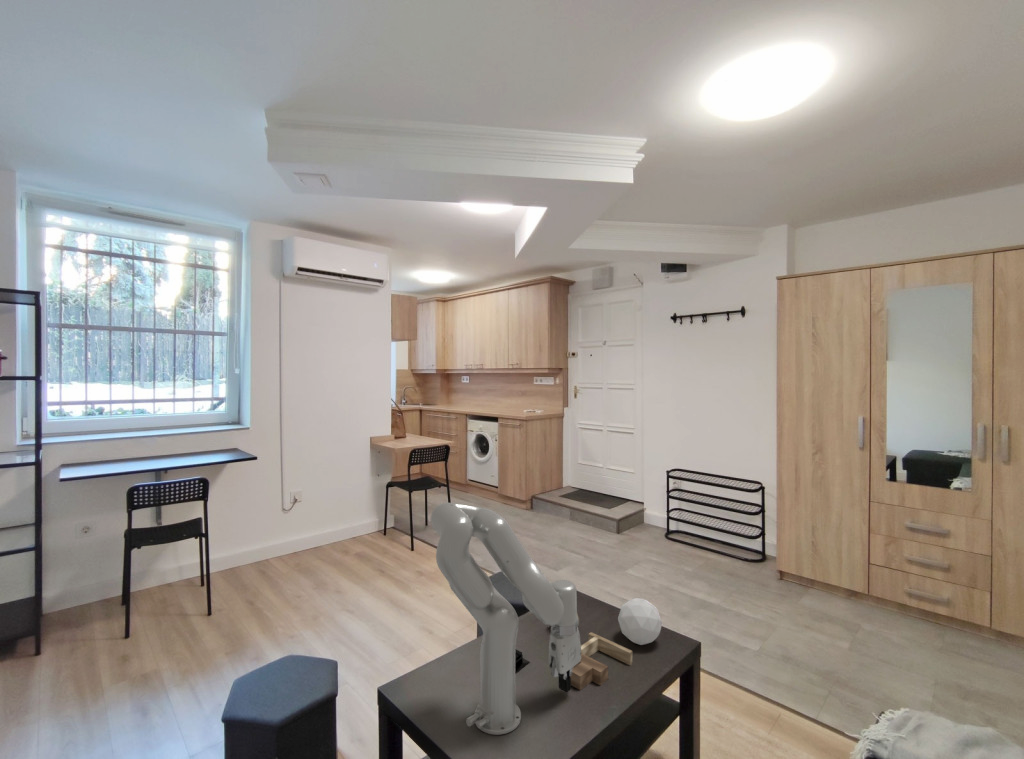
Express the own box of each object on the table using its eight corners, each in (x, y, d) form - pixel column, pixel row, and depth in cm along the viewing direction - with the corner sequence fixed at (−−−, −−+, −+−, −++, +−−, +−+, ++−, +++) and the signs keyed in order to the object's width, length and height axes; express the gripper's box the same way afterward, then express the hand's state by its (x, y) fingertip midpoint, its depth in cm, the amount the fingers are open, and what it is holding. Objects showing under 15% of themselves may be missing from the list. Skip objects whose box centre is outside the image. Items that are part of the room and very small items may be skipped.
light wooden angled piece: (609, 682, 141) (609, 669, 141) (566, 660, 153) (567, 647, 153) (632, 663, 151) (632, 650, 151) (591, 643, 162) (591, 632, 162)
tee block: (588, 695, 136) (588, 681, 136) (561, 679, 143) (561, 666, 143) (608, 679, 143) (608, 666, 143) (581, 665, 150) (581, 653, 150)
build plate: (511, 681, 143) (511, 666, 143) (493, 672, 147) (493, 657, 147) (535, 662, 152) (535, 648, 152) (517, 654, 157) (517, 640, 157)
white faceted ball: (651, 657, 163) (677, 632, 157) (616, 649, 158) (641, 623, 153) (637, 618, 175) (661, 594, 170) (605, 610, 171) (628, 585, 165)
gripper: (557, 641, 127) (558, 709, 127) (589, 620, 138) (590, 682, 138) (536, 631, 133) (537, 696, 133) (569, 612, 143) (570, 671, 143)
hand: (564, 689), depth 135 cm, fingers closed
